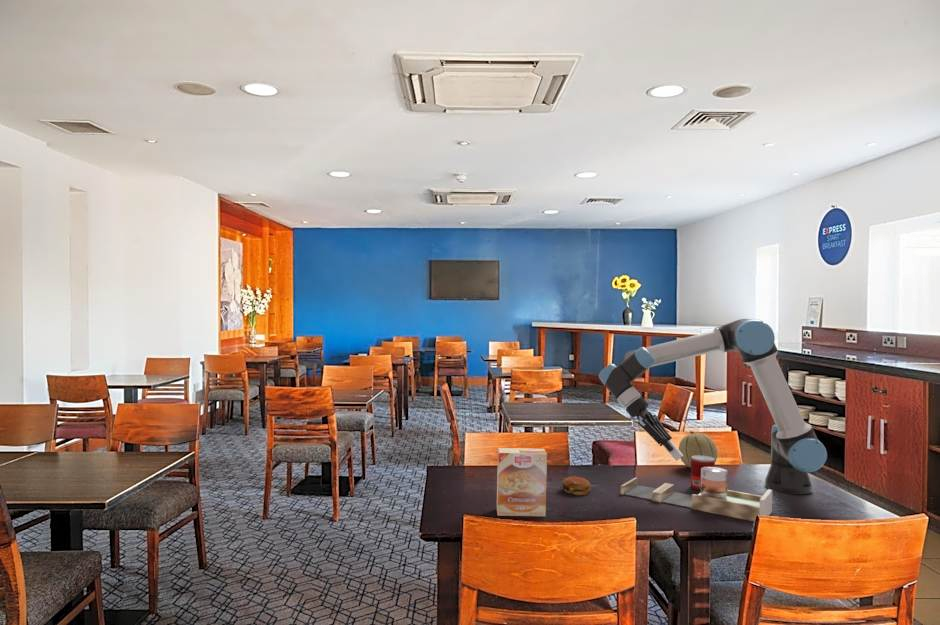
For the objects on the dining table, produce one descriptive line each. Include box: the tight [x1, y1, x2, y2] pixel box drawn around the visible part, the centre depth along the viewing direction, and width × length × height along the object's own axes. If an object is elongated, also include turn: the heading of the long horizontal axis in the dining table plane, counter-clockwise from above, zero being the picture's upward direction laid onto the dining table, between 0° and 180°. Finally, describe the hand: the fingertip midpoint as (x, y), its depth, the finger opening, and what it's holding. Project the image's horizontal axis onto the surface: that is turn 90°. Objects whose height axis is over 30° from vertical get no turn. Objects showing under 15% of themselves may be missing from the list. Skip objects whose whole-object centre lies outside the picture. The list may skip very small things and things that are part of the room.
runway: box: [620, 477, 763, 522], centre depth 205 cm, size 44×13×4 cm, turn 54°
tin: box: [700, 466, 729, 500], centre depth 201 cm, size 8×8×9 cm
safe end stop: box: [727, 488, 773, 516], centre depth 195 cm, size 12×13×7 cm
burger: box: [561, 476, 592, 496], centre depth 216 cm, size 10×9×5 cm
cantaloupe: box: [678, 430, 719, 469], centre depth 248 cm, size 15×15×15 cm
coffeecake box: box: [496, 447, 548, 517], centre depth 192 cm, size 15×7×20 cm, turn 90°
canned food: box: [690, 455, 716, 492], centre depth 222 cm, size 8×8×11 cm
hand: (679, 458), depth 207 cm, fingers closed
